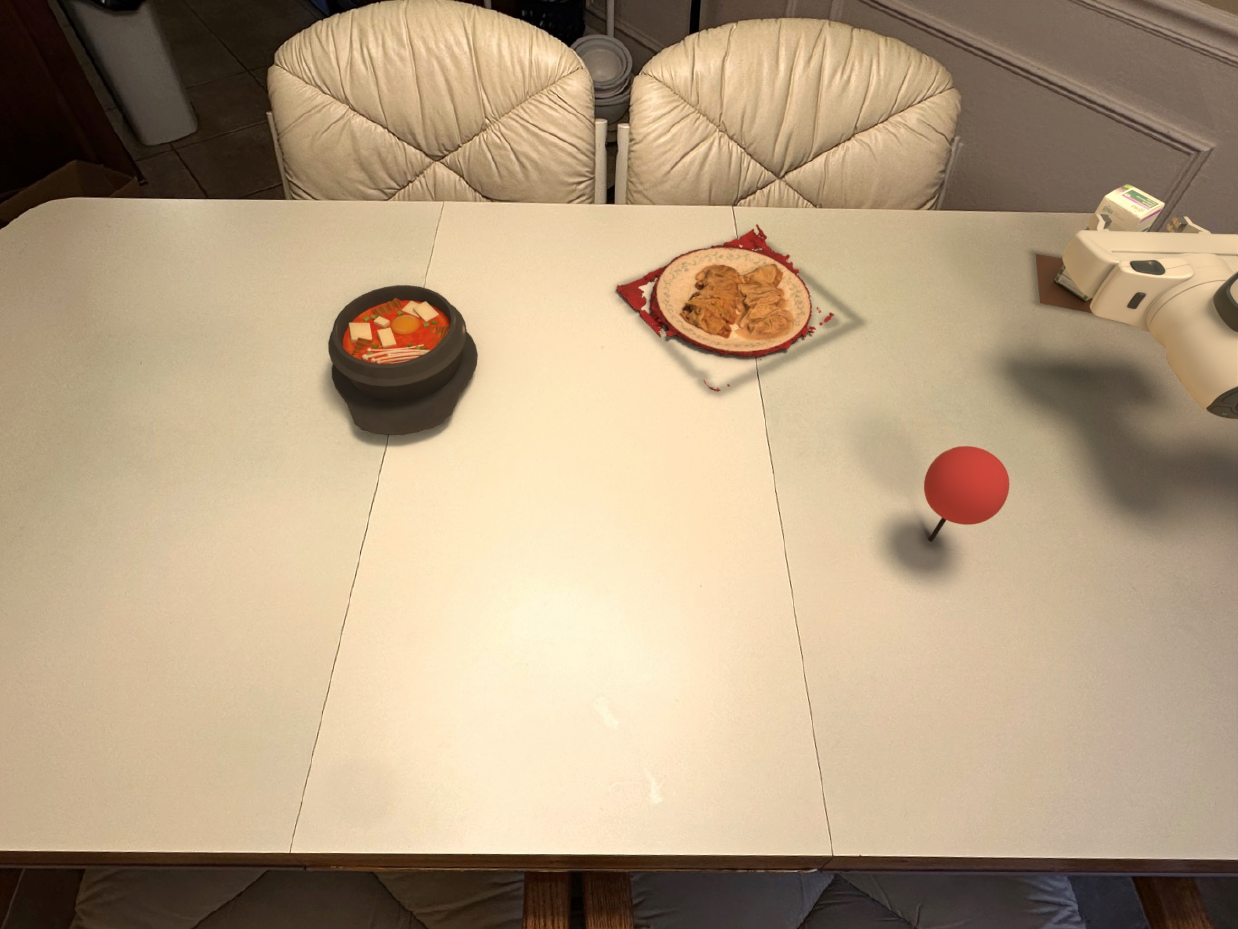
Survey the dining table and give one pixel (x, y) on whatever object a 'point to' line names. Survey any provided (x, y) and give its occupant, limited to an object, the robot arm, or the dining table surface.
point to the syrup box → (1120, 221)
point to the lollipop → (965, 486)
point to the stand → (1056, 286)
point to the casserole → (400, 359)
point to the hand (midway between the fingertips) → (1136, 219)
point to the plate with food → (728, 298)
